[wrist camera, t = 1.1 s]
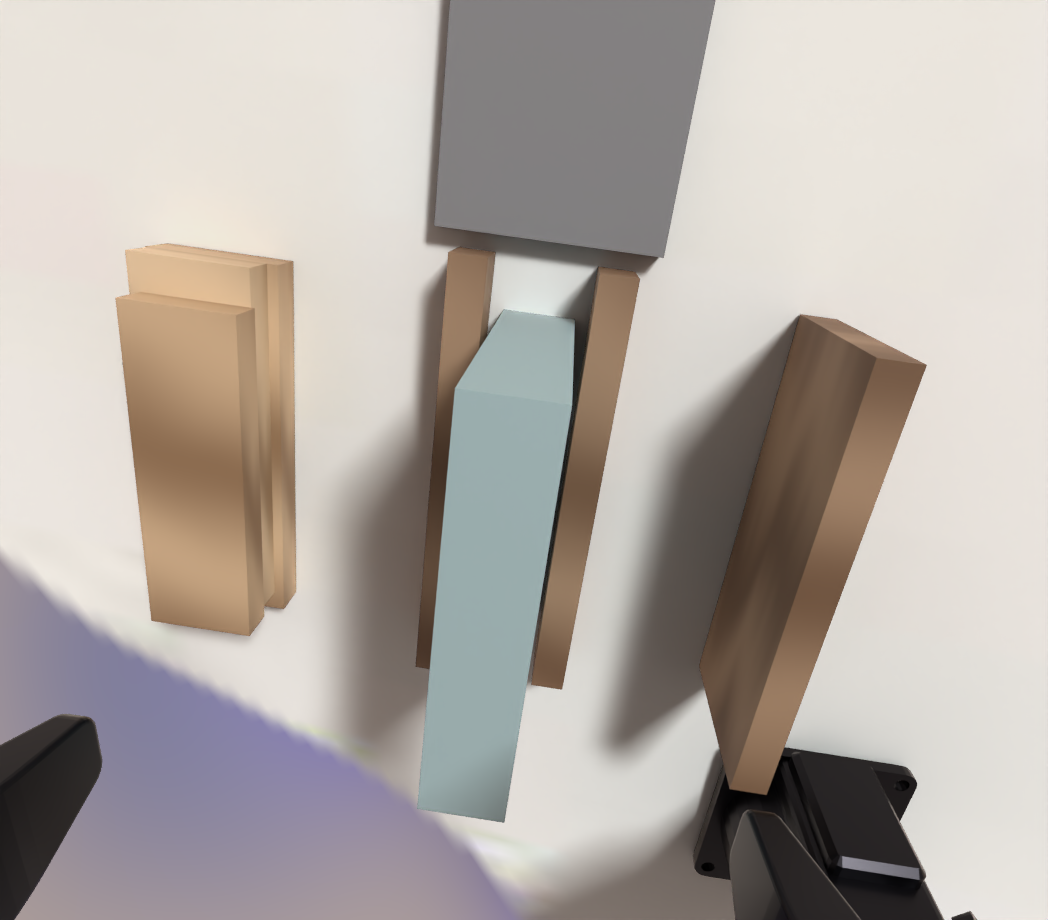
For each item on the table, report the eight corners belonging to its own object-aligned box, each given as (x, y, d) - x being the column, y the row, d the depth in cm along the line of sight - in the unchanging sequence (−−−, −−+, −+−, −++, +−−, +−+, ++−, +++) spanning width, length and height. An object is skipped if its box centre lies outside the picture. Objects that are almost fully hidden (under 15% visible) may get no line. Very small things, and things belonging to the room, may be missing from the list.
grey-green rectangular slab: (529, 613, 22) (504, 822, 15) (470, 604, 22) (417, 808, 15) (574, 318, 18) (572, 405, 11) (504, 309, 19) (455, 388, 11)
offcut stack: (295, 591, 23) (256, 647, 20) (193, 575, 23) (139, 629, 20) (293, 261, 18) (242, 274, 16) (167, 243, 18) (94, 252, 16)
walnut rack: (724, 682, 23) (761, 808, 18) (426, 635, 23) (387, 748, 18) (842, 300, 18) (935, 340, 13) (459, 246, 18) (417, 267, 13)
